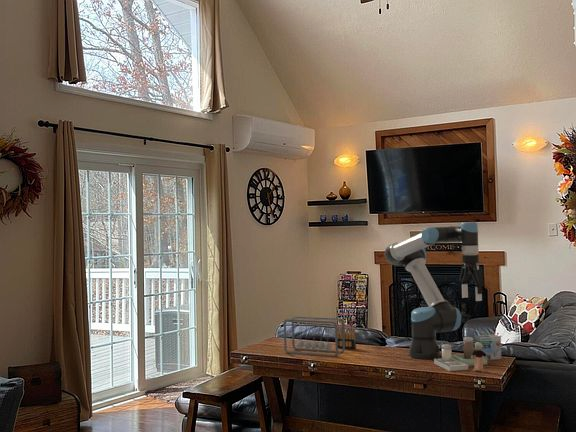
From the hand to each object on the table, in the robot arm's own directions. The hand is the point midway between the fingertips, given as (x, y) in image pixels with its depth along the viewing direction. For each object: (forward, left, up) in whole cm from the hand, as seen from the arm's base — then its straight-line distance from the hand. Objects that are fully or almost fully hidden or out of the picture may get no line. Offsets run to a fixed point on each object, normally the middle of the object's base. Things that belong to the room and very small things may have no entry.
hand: (471, 299), depth 300 cm
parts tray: (+5, -5, -29) cm, 30 cm away
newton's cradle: (-40, -68, -29) cm, 84 cm away
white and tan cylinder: (+5, -5, -28) cm, 29 cm away
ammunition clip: (-47, -49, -29) cm, 74 cm away
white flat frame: (+9, -16, -29) cm, 34 cm away
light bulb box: (-1, +8, -29) cm, 30 cm away
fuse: (+5, -16, -29) cm, 33 cm away
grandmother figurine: (+21, -8, -29) cm, 37 cm away
